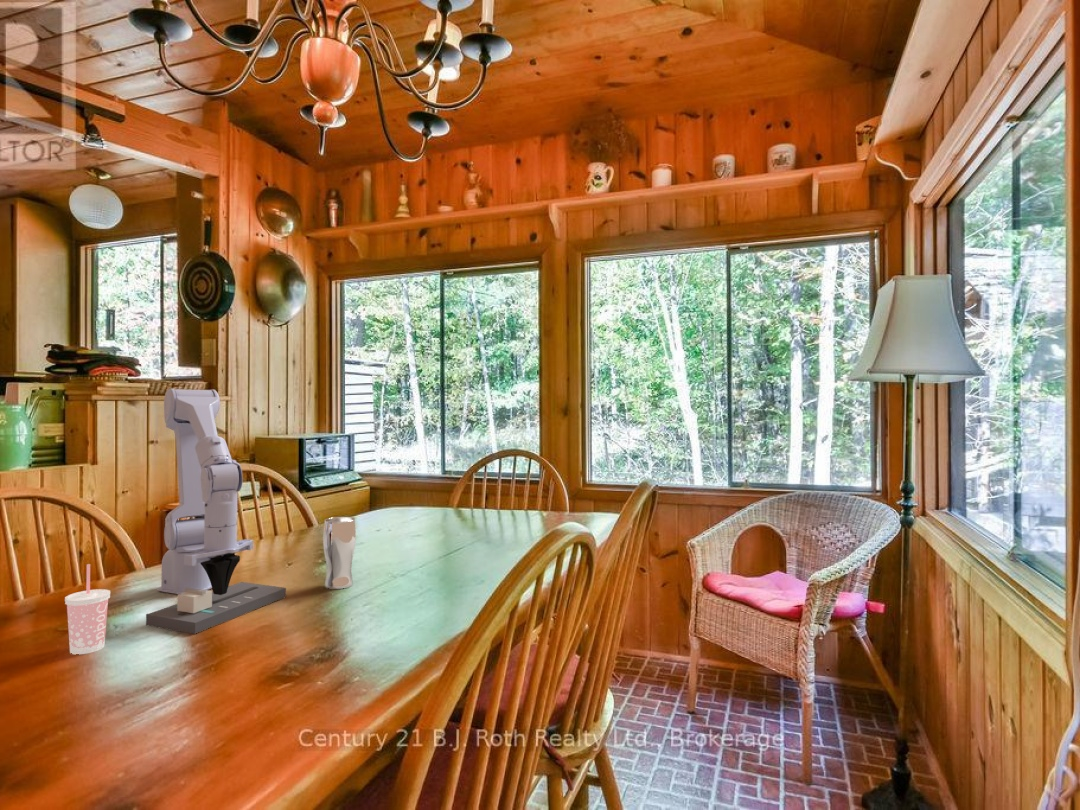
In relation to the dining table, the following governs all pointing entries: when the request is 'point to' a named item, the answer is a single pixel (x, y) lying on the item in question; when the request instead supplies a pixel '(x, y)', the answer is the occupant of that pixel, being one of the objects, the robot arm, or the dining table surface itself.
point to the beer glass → (339, 551)
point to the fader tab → (194, 600)
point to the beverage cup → (87, 618)
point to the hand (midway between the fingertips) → (220, 593)
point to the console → (217, 608)
